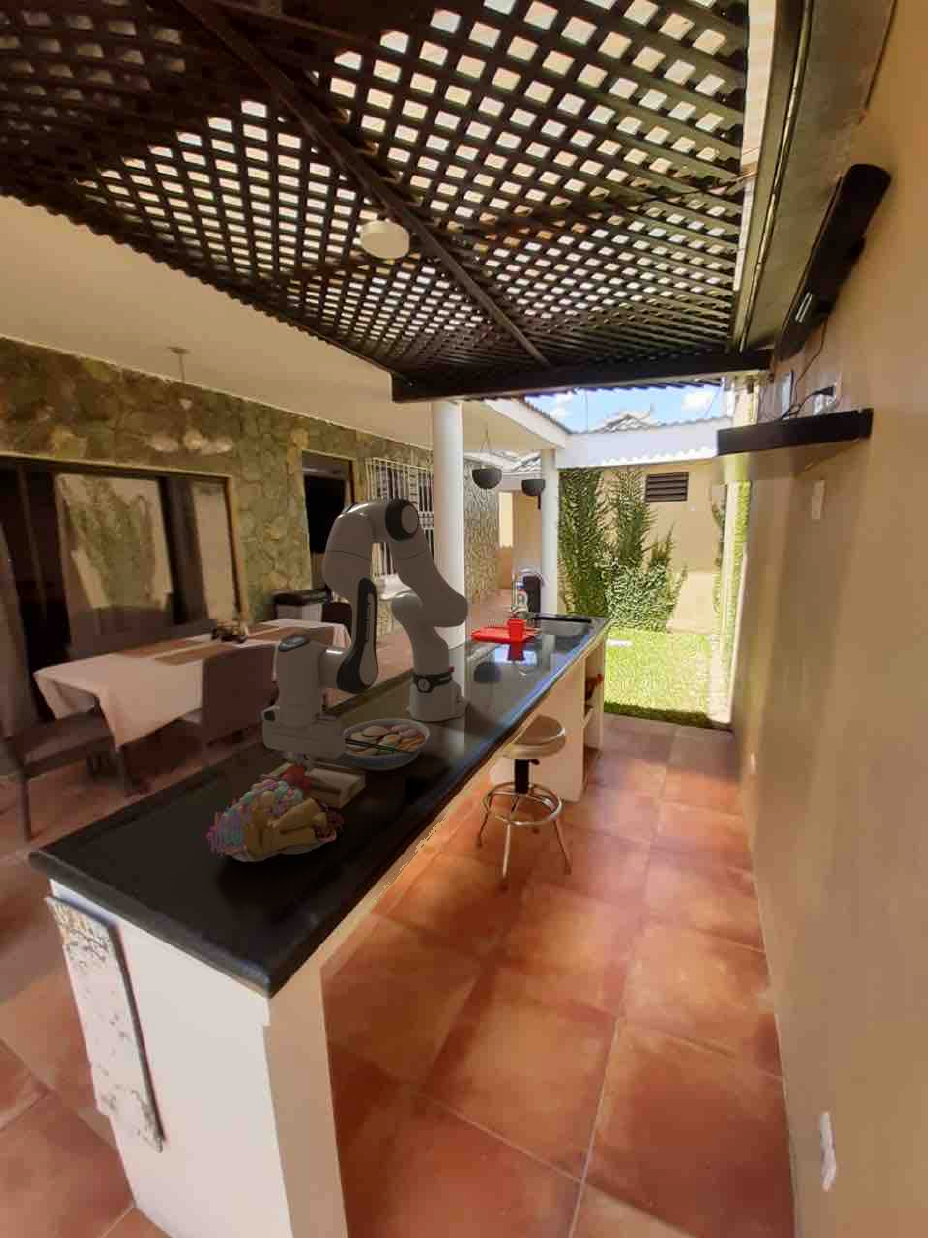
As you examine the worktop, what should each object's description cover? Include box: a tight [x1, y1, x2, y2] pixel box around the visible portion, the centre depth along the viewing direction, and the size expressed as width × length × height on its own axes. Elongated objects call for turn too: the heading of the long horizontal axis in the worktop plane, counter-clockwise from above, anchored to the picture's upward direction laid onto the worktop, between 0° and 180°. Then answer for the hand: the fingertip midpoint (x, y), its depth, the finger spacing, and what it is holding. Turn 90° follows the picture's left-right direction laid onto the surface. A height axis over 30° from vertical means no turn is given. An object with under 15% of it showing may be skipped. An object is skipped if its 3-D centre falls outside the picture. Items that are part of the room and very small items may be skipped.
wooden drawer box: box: [259, 757, 366, 810], centre depth 109 cm, size 10×21×4 cm, turn 69°
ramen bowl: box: [343, 717, 431, 771], centre depth 120 cm, size 25×23×8 cm
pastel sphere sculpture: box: [205, 764, 346, 863], centre depth 91 cm, size 25×24×9 cm
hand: (306, 770), depth 109 cm, fingers closed
